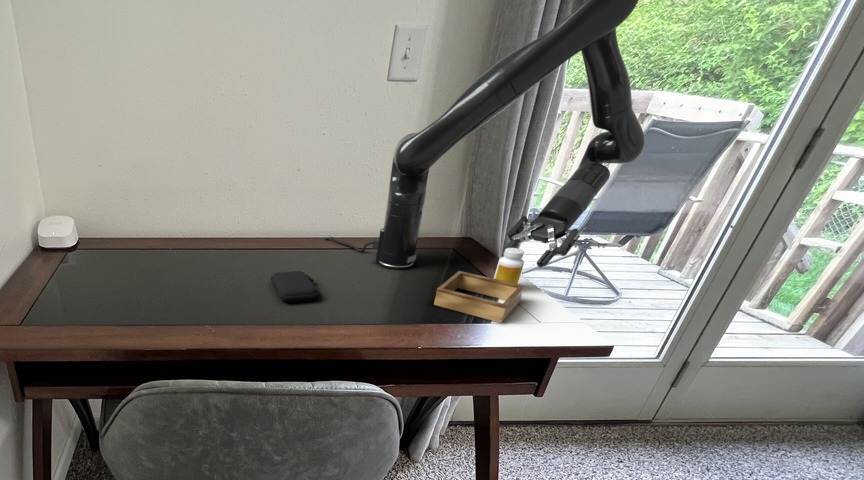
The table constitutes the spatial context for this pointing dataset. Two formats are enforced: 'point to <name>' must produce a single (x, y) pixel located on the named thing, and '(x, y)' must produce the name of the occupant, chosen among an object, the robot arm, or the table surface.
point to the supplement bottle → (510, 266)
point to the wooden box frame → (475, 304)
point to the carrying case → (294, 286)
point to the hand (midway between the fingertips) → (521, 260)
